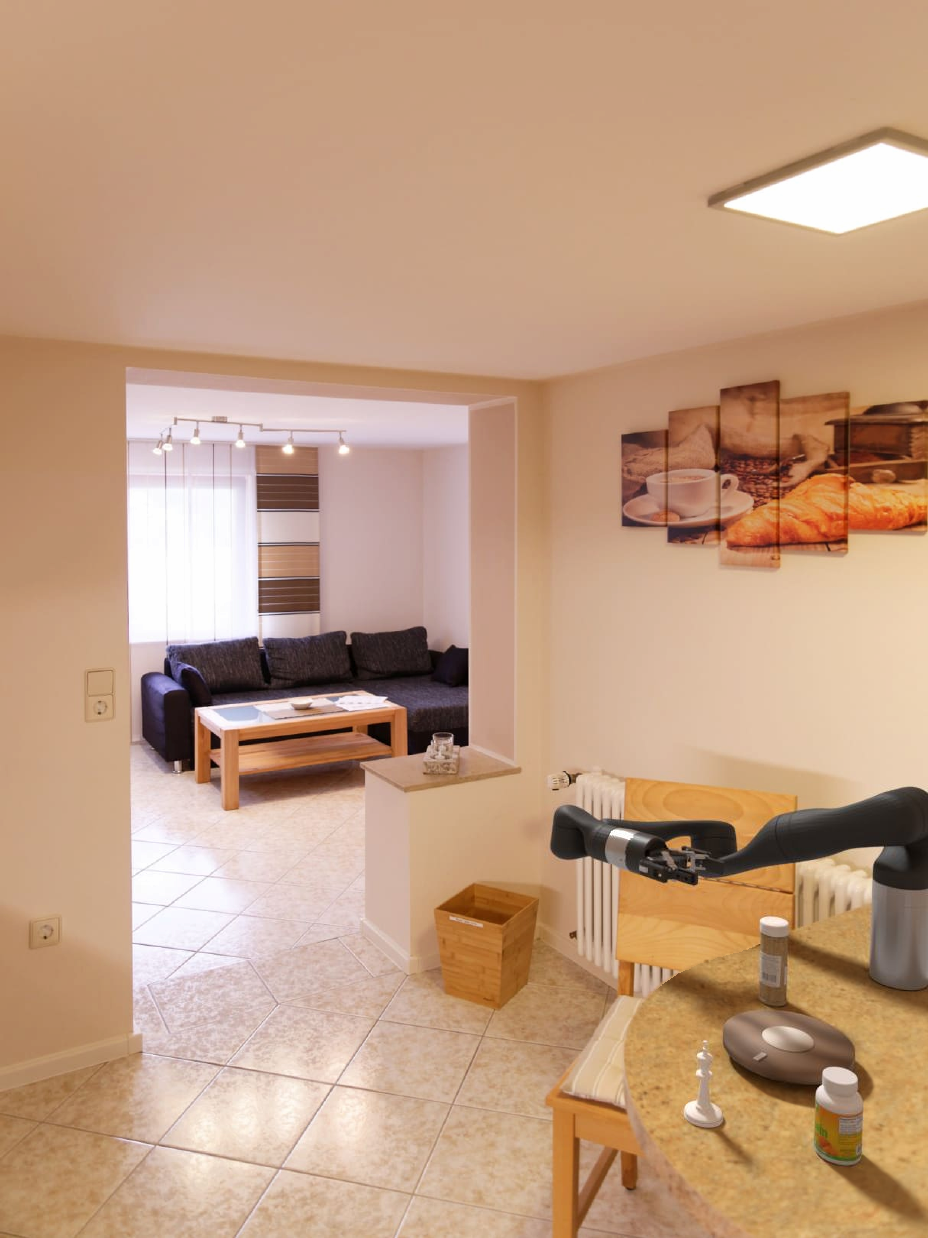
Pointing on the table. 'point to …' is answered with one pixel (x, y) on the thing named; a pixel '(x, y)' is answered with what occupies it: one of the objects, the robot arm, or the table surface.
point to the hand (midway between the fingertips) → (711, 874)
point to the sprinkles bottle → (773, 961)
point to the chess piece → (703, 1096)
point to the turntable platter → (786, 1045)
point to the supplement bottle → (838, 1117)
